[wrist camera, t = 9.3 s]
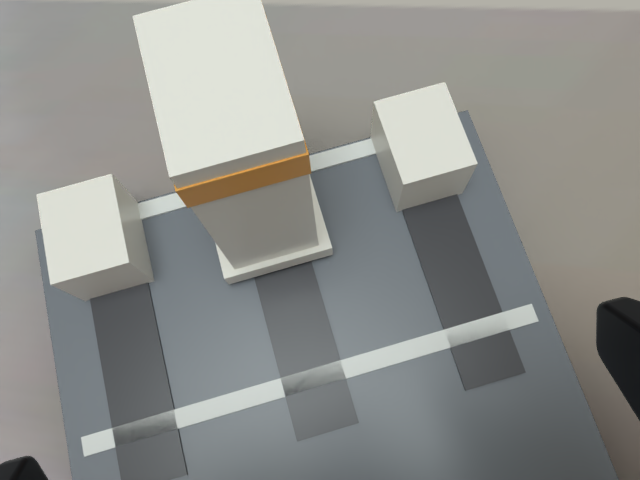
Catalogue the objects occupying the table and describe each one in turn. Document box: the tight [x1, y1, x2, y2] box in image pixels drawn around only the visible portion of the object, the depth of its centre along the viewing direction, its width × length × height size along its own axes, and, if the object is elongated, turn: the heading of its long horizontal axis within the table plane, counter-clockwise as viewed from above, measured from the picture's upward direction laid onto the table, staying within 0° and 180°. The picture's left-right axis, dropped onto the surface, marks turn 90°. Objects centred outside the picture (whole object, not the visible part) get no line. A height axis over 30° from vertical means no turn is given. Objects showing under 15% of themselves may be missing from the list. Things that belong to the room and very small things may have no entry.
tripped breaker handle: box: [133, 0, 333, 284], centre depth 16 cm, size 4×4×8 cm
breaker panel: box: [35, 82, 619, 480], centre depth 19 cm, size 14×16×4 cm
